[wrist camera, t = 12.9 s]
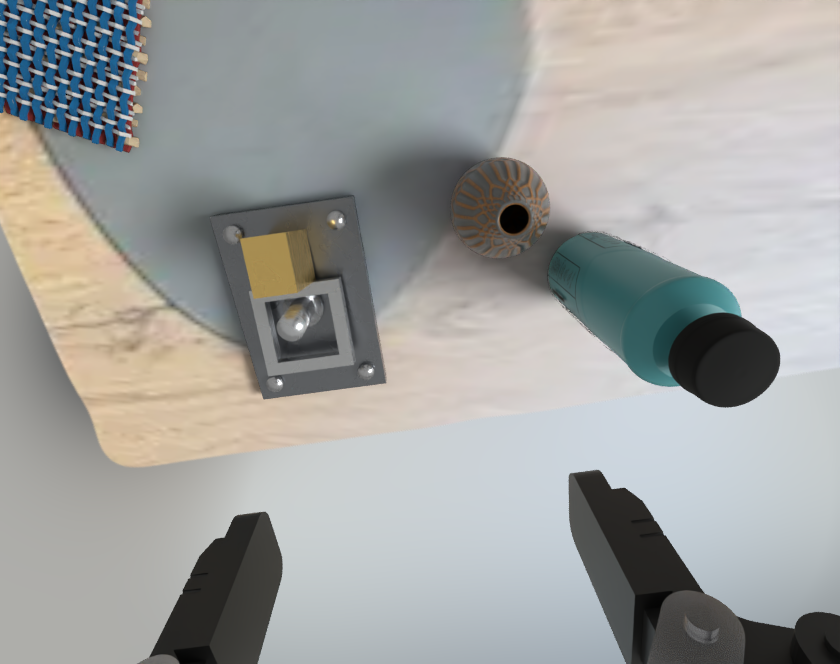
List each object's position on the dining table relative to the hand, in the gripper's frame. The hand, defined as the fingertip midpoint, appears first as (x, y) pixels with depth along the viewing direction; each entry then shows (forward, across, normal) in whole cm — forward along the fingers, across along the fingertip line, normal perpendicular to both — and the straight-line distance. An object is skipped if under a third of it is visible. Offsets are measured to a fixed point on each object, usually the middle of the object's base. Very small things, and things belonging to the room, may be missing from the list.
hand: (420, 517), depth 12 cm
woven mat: (+29, +21, -18) cm, 40 cm away
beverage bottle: (+28, -14, +2) cm, 32 cm away
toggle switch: (+28, +9, +2) cm, 30 cm away
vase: (+28, -7, -4) cm, 29 cm away
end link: (+26, +9, +1) cm, 28 cm away
